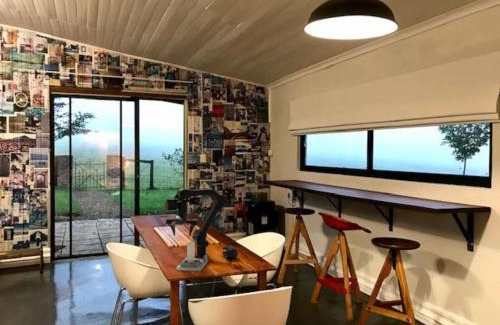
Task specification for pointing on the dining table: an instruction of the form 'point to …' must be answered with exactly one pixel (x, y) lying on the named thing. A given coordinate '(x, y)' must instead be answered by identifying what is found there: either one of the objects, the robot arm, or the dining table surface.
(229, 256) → the end cap
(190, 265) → the jig
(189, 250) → the white tapered cylinder
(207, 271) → the dining table surface
